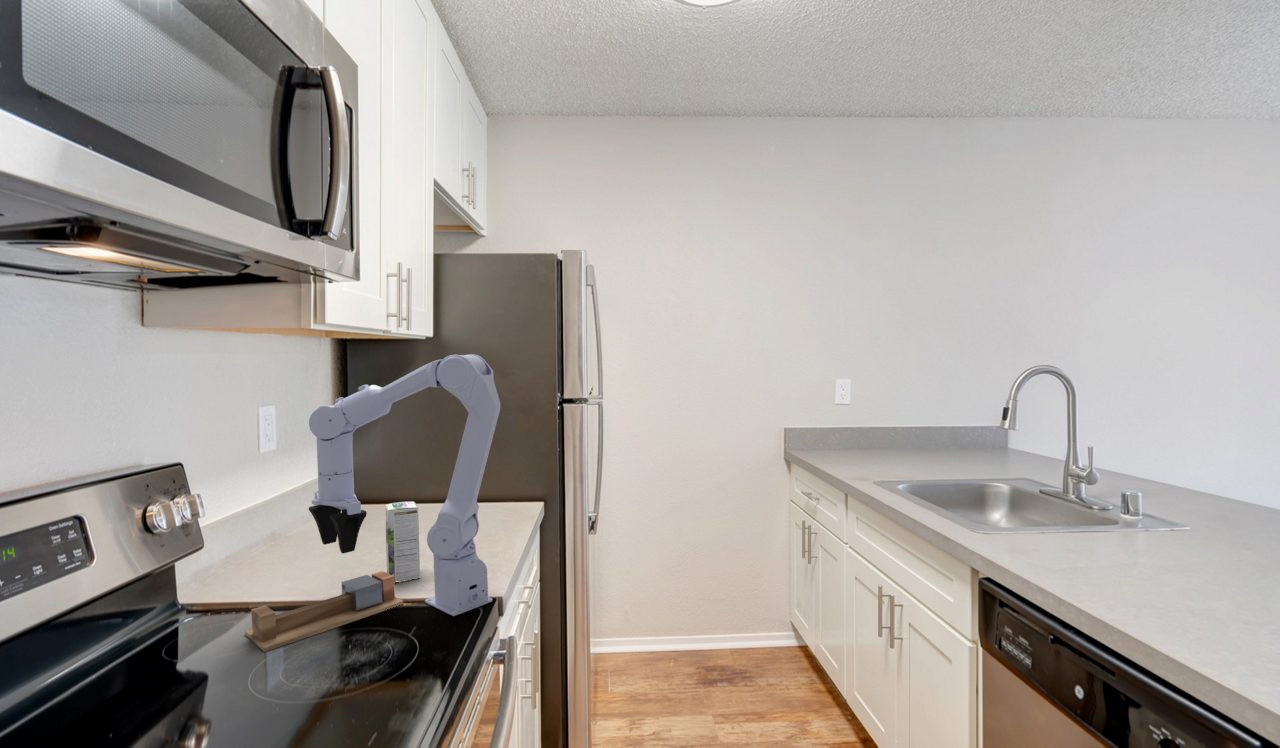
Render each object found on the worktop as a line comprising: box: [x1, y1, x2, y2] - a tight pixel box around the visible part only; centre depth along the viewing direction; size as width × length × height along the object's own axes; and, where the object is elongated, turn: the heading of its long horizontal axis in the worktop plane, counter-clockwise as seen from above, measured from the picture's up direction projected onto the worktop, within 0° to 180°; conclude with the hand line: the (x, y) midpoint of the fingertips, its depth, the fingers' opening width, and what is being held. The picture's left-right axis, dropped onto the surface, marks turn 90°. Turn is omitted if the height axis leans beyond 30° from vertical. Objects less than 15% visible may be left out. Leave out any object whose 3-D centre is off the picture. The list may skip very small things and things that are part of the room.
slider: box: [341, 574, 382, 611], centre depth 108 cm, size 6×4×4 cm
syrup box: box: [385, 501, 421, 582], centre depth 122 cm, size 6×6×14 cm
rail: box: [244, 570, 404, 653], centre depth 104 cm, size 9×22×5 cm, turn 139°
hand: (338, 547), depth 110 cm, fingers open, 7 cm apart
